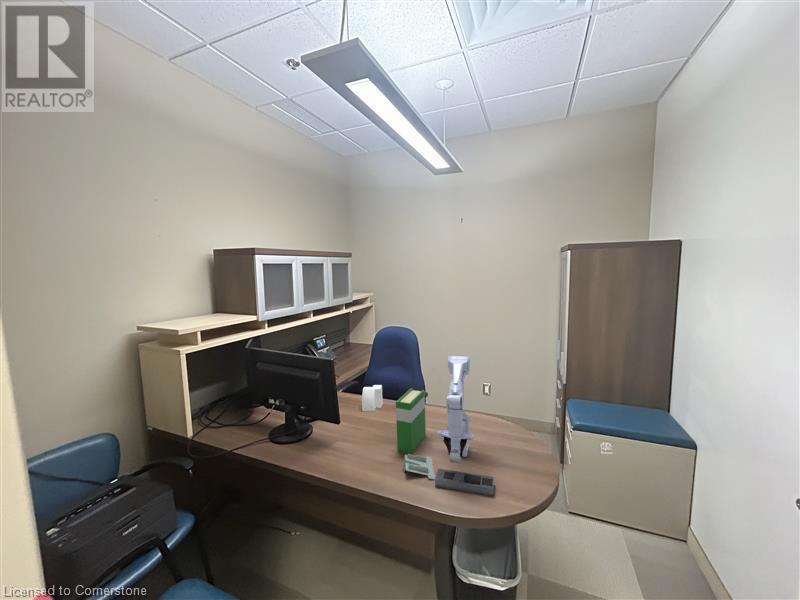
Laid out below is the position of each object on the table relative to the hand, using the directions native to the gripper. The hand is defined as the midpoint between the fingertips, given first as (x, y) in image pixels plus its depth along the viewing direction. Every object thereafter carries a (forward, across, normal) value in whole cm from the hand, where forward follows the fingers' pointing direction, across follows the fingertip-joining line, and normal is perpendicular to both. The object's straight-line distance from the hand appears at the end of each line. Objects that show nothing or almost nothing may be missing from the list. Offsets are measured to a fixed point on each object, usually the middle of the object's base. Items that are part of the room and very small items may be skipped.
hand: (455, 454), depth 136 cm
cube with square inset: (+2, 0, 0) cm, 2 cm away
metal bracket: (+9, -16, -1) cm, 18 cm away
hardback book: (+9, -24, +19) cm, 32 cm away
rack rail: (+8, +4, -6) cm, 11 cm away
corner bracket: (+8, -58, +51) cm, 78 cm away
